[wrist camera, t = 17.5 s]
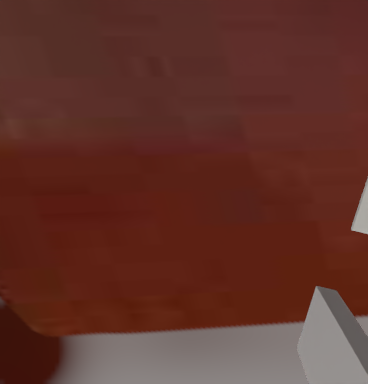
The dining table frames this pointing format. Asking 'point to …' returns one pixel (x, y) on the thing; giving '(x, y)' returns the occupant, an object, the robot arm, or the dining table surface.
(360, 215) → the mat
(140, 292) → the dining table surface
